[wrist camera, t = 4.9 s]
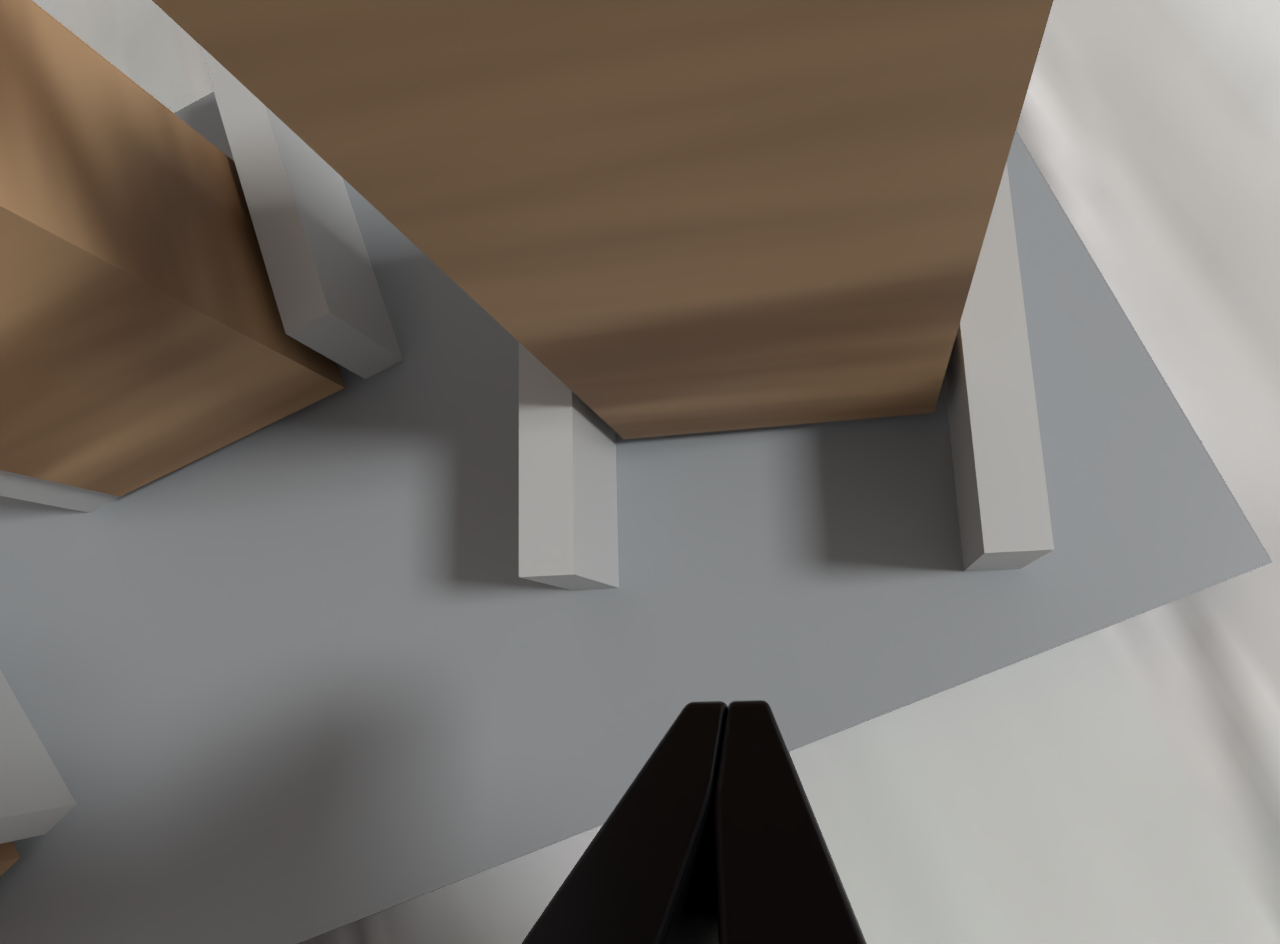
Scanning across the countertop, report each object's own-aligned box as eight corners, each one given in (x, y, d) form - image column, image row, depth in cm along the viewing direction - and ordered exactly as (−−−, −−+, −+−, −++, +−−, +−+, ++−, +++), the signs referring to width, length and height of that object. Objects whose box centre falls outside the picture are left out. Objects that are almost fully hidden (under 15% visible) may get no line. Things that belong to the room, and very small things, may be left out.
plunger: (934, 413, 17) (1186, -460, 4) (624, 439, 18) (2, -139, 5) (910, 170, 18) (1042, -1182, 5) (617, 211, 20) (90, -762, 6)
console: (1238, 570, 17) (1362, 540, 13) (-241, 1150, 22) (-506, 1268, 18) (805, -175, 23) (792, -370, 18) (-305, 423, 28) (-520, 379, 23)
